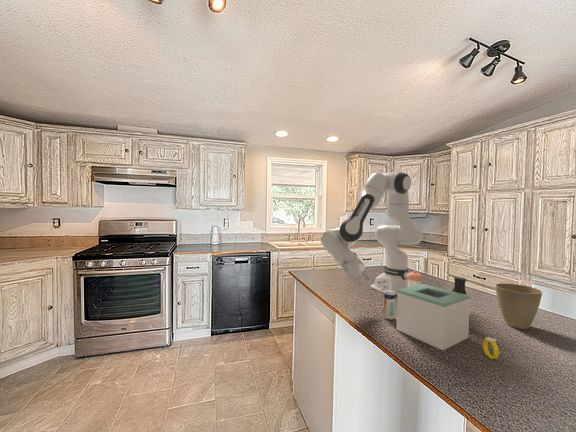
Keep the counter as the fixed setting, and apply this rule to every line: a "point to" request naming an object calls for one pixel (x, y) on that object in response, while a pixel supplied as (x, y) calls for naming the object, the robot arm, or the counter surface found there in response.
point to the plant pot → (518, 304)
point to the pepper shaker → (414, 278)
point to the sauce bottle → (459, 285)
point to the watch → (495, 347)
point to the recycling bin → (433, 315)
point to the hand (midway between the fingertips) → (367, 282)
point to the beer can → (389, 304)
